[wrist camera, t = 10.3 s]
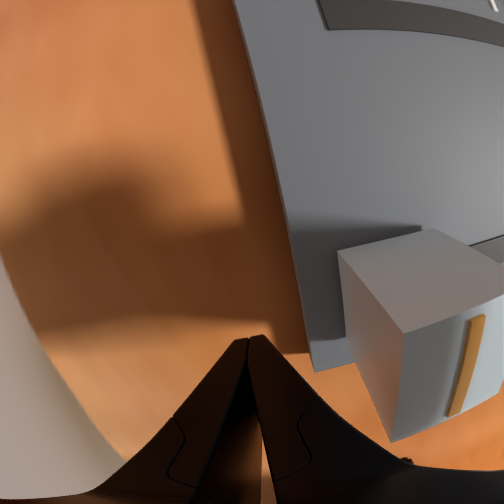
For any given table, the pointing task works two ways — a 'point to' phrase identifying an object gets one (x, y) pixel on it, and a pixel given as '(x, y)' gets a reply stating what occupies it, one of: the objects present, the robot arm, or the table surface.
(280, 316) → the table surface
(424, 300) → the block
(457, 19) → the console
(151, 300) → the table surface
